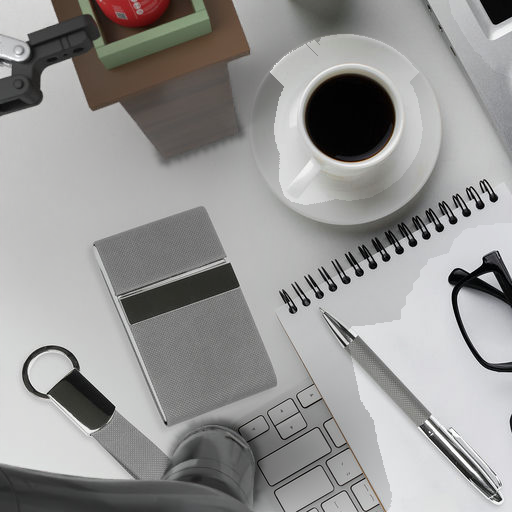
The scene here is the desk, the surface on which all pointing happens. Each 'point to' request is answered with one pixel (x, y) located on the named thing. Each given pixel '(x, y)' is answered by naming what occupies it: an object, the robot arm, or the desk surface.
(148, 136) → the stand column
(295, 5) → the desk surface
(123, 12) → the beverage can
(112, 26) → the can holder
